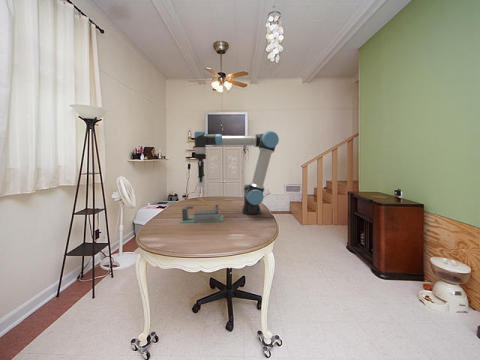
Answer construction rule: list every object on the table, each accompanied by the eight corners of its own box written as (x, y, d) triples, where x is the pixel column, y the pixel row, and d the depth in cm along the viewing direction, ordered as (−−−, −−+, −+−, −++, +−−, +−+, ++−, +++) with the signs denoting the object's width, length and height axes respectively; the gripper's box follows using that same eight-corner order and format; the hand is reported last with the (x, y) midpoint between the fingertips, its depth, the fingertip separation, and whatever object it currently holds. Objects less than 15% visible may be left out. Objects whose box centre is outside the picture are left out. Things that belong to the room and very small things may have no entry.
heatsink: (218, 215, 159) (218, 204, 158) (218, 220, 148) (218, 208, 147) (196, 216, 158) (195, 204, 157) (194, 221, 147) (193, 208, 146)
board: (223, 215, 161) (223, 215, 161) (223, 221, 148) (223, 220, 148) (183, 217, 158) (183, 216, 158) (180, 223, 145) (180, 222, 145)
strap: (217, 209, 155) (218, 208, 155) (217, 211, 151) (218, 210, 151) (198, 197, 153) (199, 196, 153) (197, 199, 149) (198, 197, 149)
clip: (194, 217, 155) (193, 205, 154) (193, 220, 149) (192, 207, 148) (184, 217, 155) (183, 205, 154) (182, 220, 149) (182, 207, 148)
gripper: (196, 153, 156) (197, 184, 159) (193, 153, 137) (194, 188, 140) (206, 153, 157) (207, 183, 160) (204, 153, 138) (205, 187, 141)
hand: (201, 185), depth 150 cm, fingers open, 6 cm apart
